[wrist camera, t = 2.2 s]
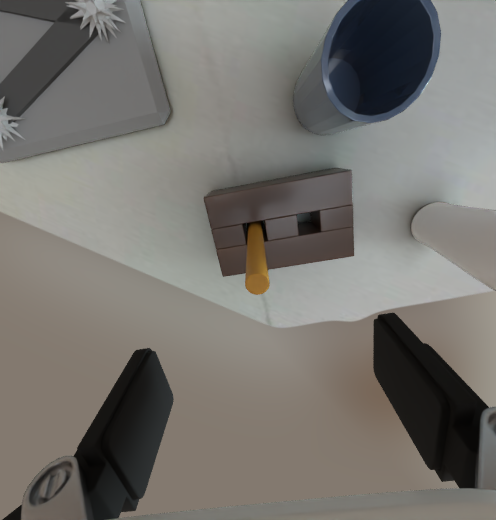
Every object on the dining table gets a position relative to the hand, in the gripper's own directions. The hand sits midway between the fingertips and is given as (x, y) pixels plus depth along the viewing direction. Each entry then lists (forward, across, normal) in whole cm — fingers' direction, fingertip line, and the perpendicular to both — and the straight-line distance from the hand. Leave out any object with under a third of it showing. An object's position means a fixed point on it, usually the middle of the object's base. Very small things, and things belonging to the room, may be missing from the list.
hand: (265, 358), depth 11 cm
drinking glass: (+23, -22, +4) cm, 32 cm away
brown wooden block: (+23, -3, 0) cm, 24 cm away
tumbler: (+23, -10, -12) cm, 28 cm away
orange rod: (+23, 0, 0) cm, 23 cm away
